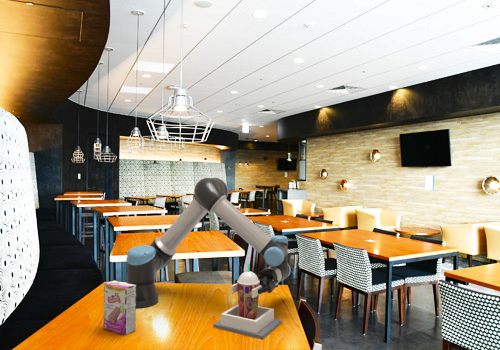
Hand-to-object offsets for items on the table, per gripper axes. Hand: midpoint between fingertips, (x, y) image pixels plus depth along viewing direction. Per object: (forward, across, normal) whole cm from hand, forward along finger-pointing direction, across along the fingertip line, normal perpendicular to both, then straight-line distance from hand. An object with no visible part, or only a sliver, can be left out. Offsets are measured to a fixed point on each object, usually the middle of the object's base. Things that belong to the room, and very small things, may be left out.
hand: (241, 291), depth 131 cm
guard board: (-5, 0, -13) cm, 14 cm away
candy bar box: (+22, +37, -14) cm, 45 cm away
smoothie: (-5, 0, -11) cm, 12 cm away
